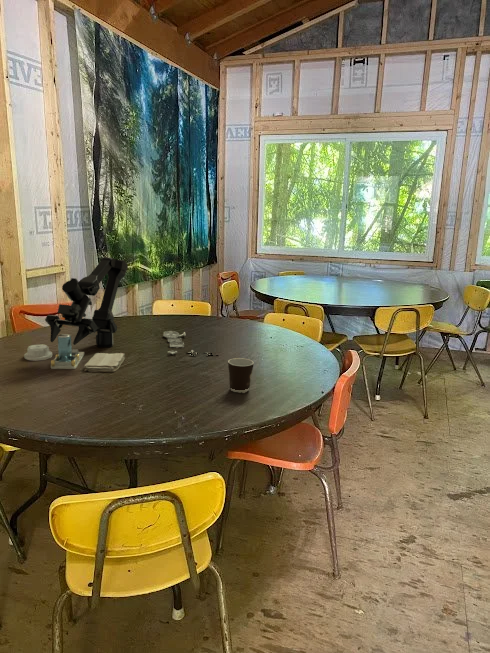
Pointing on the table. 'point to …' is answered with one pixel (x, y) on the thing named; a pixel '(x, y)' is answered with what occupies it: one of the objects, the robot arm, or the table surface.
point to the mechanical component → (38, 353)
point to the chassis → (67, 364)
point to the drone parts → (175, 340)
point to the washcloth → (104, 362)
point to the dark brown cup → (240, 373)
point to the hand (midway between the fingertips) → (62, 343)
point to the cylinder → (64, 347)
